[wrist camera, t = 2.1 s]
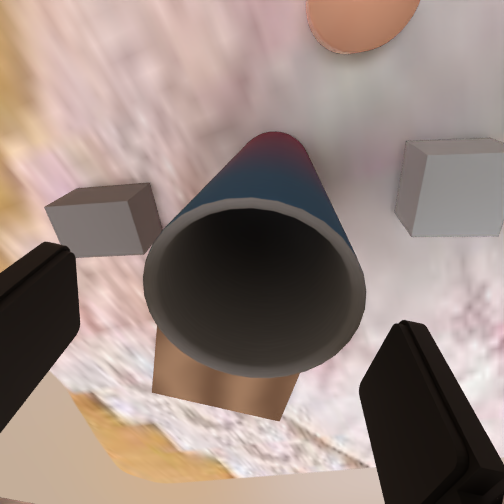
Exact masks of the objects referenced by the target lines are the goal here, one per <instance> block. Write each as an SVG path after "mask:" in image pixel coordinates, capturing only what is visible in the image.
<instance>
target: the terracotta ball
mask: <svg viewBox="0 0 504 504" xmlns="http://www.w3.org/2000/svg"><path fill="white" fill-rule="evenodd" d="M419 2H420V0H306V14H307V20H308V24H309V27H310V29H311V32H312V33H313V35H314V37H315V38H316V40H317V41H318V42H319V43H320V44H321V45H322V46H323V47H325V48H326V49H328V50H330V51H332V52H335V53H339V54H353V53H358V52H364V51H369V50H372V49H375V48H377V47H380V46H382V45H384V44H385V43H387V42H389V41H390V40H391V39H393V38H394V37H395V36H396V35H397V34H398V33H399V32H400V31H401V30H402V29H403V28H404V27H405V26H406V25H407V23H408V22H409V20H410V19H411V18H412V16H413V14H414V12H415V11H416V9H417V7H418V4H419Z"/></svg>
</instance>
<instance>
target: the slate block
mask: <svg viewBox="0 0 504 504" xmlns="http://www.w3.org/2000/svg"><path fill="white" fill-rule="evenodd" d="M395 214H396V215H397V217H398V218H399V220H400V221H401V223H402V224H403V226H404V227H405V228H406V230H407V231H408V233H409V234H410V236H411V237H478V236H499V234H500V231H501V228H502V225H503V222H504V143H503V142H500V141H497V140H495V139H492V138H469V139H444V140H419V141H406V146H405V153H404V159H403V165H402V171H401V177H400V183H399V189H398V195H397V201H396V207H395Z"/></svg>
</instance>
